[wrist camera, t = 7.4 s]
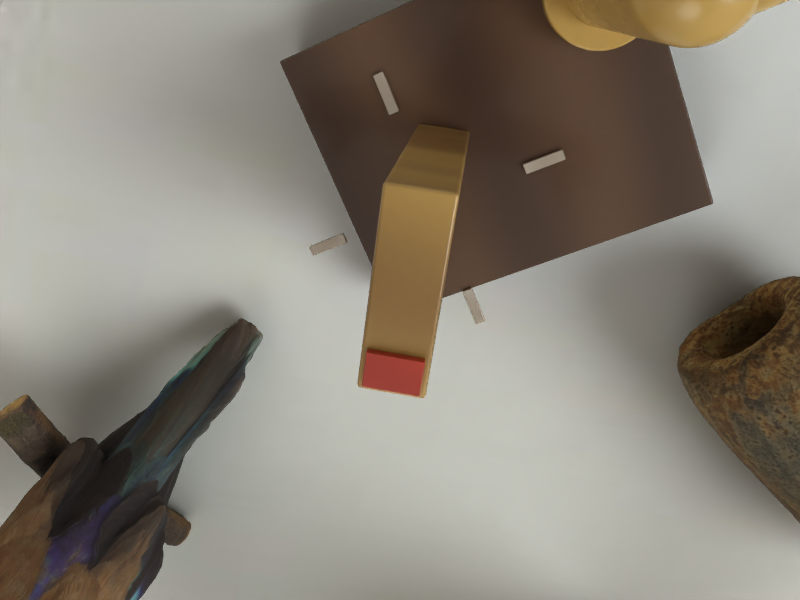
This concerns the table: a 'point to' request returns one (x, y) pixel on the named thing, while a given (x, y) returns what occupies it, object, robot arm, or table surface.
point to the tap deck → (503, 130)
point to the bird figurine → (111, 485)
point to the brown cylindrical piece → (753, 383)
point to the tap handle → (412, 261)
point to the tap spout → (649, 21)
